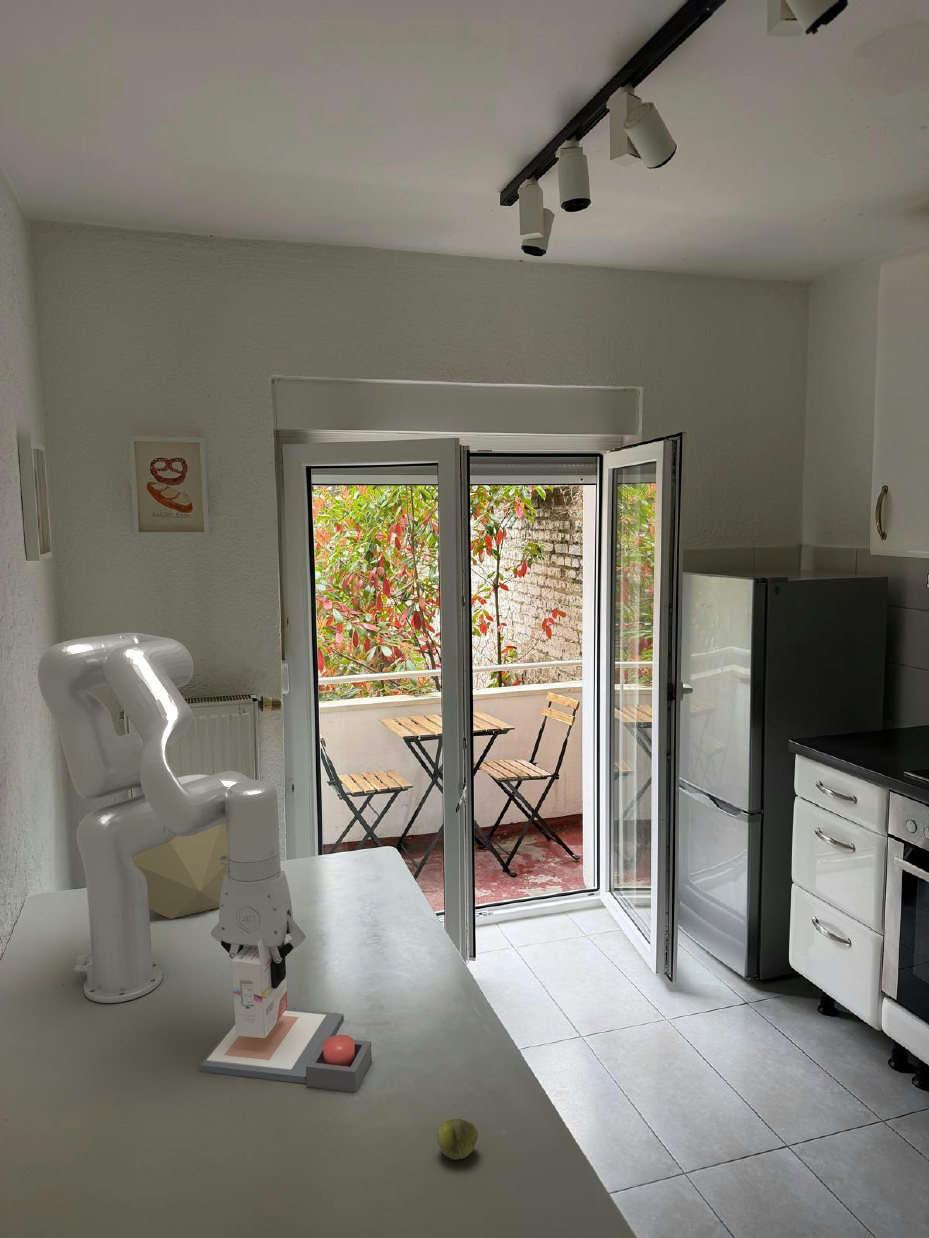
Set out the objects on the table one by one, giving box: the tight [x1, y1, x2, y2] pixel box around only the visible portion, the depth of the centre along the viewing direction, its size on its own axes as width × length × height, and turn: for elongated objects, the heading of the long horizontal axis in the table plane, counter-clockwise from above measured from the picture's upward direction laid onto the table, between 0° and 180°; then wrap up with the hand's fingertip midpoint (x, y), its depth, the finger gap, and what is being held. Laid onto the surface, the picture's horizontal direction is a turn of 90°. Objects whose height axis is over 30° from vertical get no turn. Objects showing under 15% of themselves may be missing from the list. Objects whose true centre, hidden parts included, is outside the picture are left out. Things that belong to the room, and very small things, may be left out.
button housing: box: [306, 1037, 373, 1093], centre depth 124 cm, size 7×7×3 cm
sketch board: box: [199, 1007, 345, 1085], centre depth 131 cm, size 16×16×1 cm
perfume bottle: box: [133, 773, 228, 920], centre depth 178 cm, size 12×24×28 cm, turn 121°
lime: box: [436, 1118, 479, 1161], centre depth 107 cm, size 4×5×5 cm
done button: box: [323, 1034, 355, 1067], centre depth 124 cm, size 4×4×3 cm
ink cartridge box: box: [230, 939, 289, 1038], centre depth 131 cm, size 9×5×15 cm, turn 168°
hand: (260, 980), depth 131 cm, fingers closed on ink cartridge box, 5 cm apart
